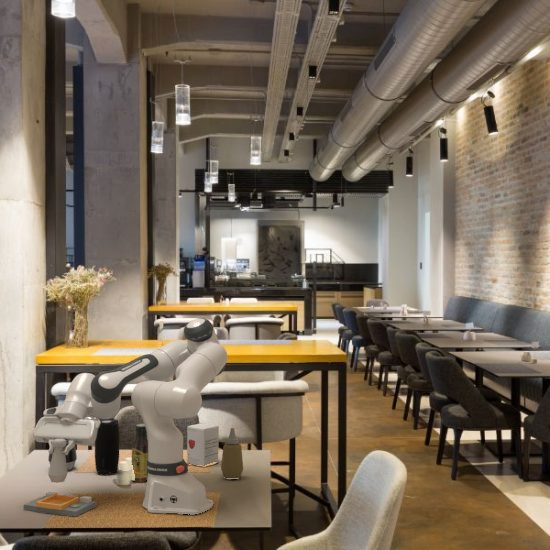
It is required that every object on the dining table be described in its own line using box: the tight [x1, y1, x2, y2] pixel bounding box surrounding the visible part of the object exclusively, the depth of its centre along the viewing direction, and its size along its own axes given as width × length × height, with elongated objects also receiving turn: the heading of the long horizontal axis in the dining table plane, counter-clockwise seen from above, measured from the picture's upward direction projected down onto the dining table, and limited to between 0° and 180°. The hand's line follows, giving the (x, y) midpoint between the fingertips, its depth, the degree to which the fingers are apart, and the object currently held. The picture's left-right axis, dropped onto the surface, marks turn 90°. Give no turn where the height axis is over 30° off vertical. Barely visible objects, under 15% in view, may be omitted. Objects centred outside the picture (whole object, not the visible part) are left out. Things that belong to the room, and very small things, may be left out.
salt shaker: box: [47, 439, 68, 483], centre depth 238 cm, size 6×6×13 cm
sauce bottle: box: [131, 423, 148, 483], centre depth 270 cm, size 7×6×20 cm
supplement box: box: [186, 422, 220, 466], centre depth 295 cm, size 9×9×15 cm
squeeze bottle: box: [220, 427, 244, 478], centre depth 274 cm, size 8×8×18 cm
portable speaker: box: [94, 417, 120, 476], centre depth 281 cm, size 9×9×20 cm
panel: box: [23, 491, 97, 518], centre depth 237 cm, size 19×11×3 cm, turn 70°
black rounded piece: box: [47, 444, 78, 471], centre depth 285 cm, size 10×10×15 cm
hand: (57, 453), depth 237 cm, fingers closed on salt shaker, 3 cm apart
